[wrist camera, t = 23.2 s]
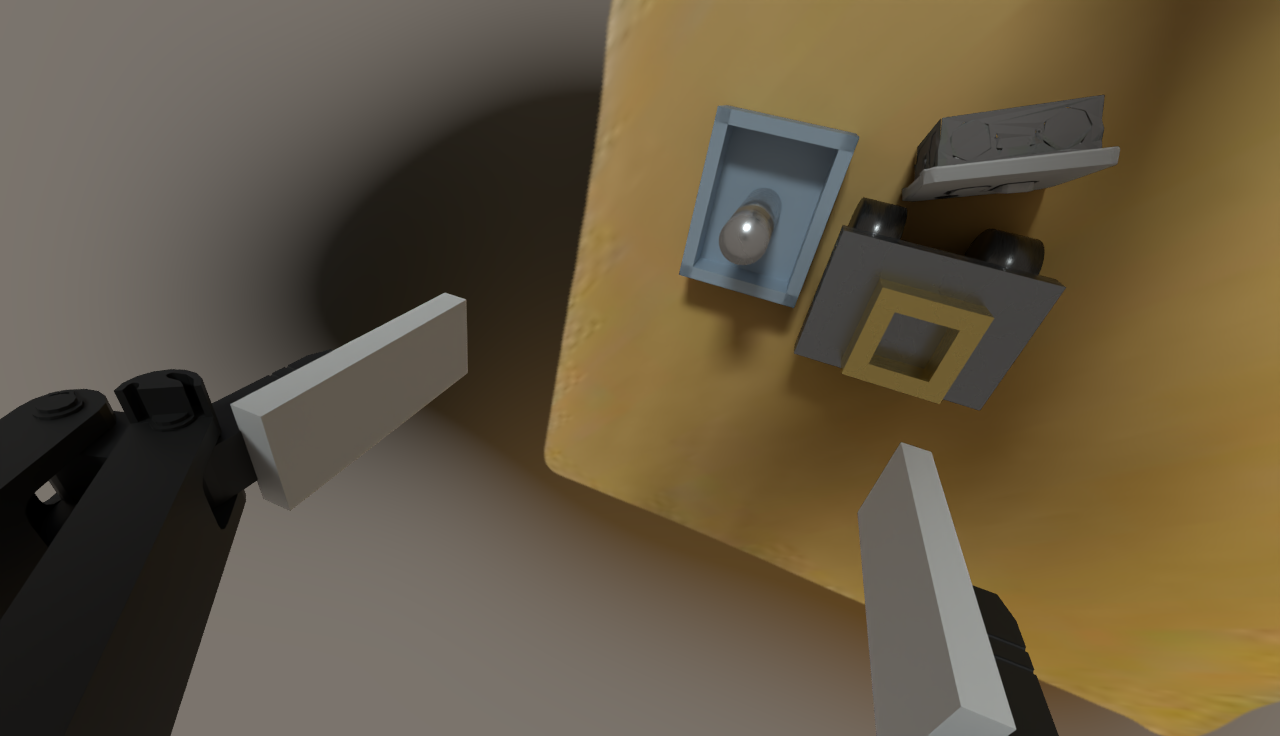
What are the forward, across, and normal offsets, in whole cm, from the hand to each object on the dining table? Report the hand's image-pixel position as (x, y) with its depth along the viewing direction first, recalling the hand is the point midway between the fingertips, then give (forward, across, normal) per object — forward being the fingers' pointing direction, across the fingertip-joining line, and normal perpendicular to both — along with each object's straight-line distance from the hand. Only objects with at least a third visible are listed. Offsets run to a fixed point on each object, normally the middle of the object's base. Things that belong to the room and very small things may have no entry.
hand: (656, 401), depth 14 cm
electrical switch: (+32, +13, +7) cm, 35 cm away
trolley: (+32, +13, -4) cm, 34 cm away
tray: (+32, 0, 0) cm, 32 cm away
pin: (+31, 0, 0) cm, 31 cm away
